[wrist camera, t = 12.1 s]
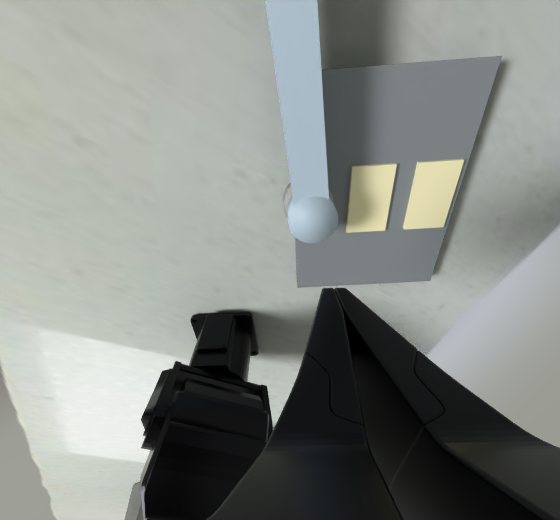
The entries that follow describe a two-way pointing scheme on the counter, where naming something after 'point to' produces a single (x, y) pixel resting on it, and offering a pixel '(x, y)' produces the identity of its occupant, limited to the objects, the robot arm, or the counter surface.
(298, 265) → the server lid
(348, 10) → the counter surface
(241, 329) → the robot arm
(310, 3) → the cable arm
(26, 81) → the counter surface
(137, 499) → the coffeepot
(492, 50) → the counter surface
